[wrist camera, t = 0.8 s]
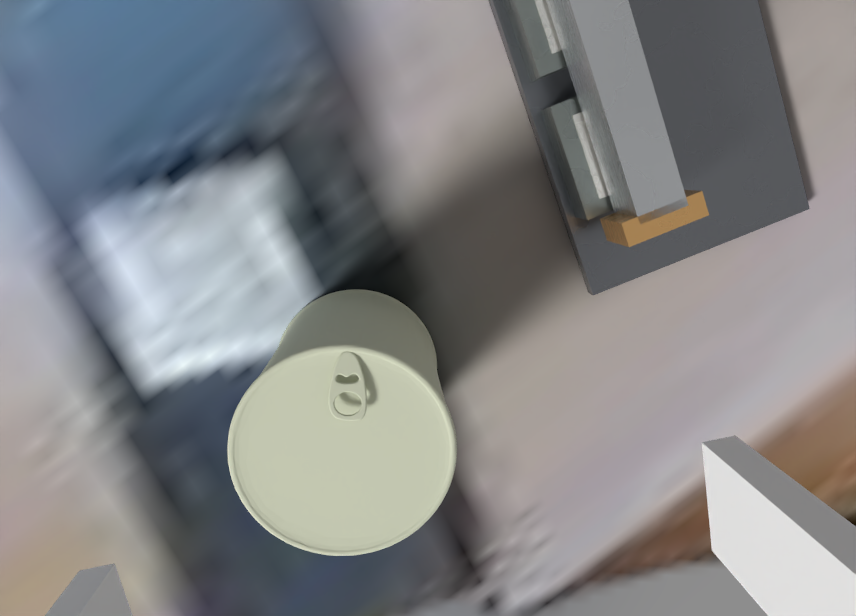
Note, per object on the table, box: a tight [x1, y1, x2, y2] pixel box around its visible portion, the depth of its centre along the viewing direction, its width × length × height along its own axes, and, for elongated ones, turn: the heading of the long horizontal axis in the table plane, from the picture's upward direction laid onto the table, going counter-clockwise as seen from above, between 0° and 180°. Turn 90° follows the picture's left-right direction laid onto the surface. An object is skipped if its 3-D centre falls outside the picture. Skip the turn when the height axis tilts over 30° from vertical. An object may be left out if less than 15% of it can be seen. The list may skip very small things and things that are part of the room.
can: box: [228, 289, 457, 556], centre depth 30 cm, size 9×9×12 cm
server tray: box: [489, 0, 809, 295], centre depth 31 cm, size 26×13×3 cm, turn 22°
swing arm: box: [546, 0, 709, 247], centre depth 28 cm, size 22×4×7 cm, turn 22°
